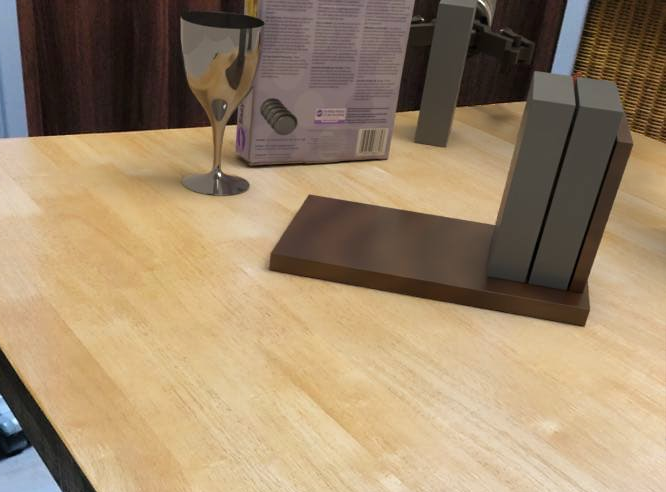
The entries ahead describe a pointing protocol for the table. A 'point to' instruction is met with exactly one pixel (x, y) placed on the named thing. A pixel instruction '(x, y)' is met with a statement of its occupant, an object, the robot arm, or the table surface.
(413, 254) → the book rack
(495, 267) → the matching books
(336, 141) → the cake pan box
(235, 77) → the wine glass
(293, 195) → the table surface
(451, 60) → the grey book
